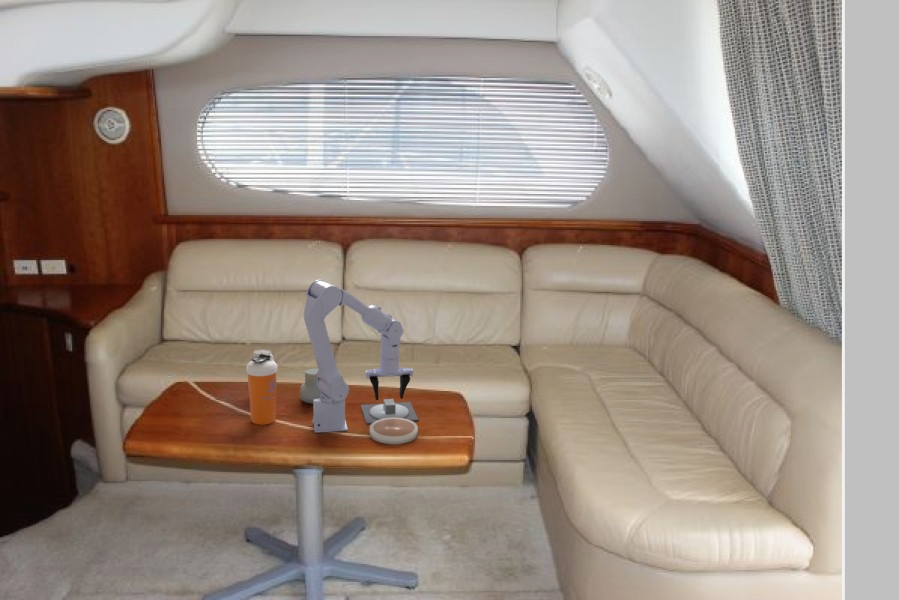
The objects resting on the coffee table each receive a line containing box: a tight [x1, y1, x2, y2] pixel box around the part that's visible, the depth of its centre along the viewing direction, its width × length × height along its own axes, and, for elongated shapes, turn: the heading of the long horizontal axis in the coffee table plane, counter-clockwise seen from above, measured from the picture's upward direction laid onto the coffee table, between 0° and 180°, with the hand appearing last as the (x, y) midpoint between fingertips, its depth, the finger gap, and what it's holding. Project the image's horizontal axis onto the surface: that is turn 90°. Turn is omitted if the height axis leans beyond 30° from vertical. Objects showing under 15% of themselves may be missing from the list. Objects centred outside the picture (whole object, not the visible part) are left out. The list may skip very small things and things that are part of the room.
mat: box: [360, 401, 420, 425], centre depth 227 cm, size 16×14×1 cm
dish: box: [369, 418, 419, 445], centre depth 212 cm, size 14×14×2 cm
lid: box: [370, 398, 409, 420], centre depth 226 cm, size 12×12×4 cm
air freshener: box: [299, 368, 320, 405], centre depth 233 cm, size 11×8×10 cm
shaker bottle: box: [245, 354, 278, 426], centre depth 216 cm, size 9×9×20 cm
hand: (389, 398), depth 225 cm, fingers open, 7 cm apart
